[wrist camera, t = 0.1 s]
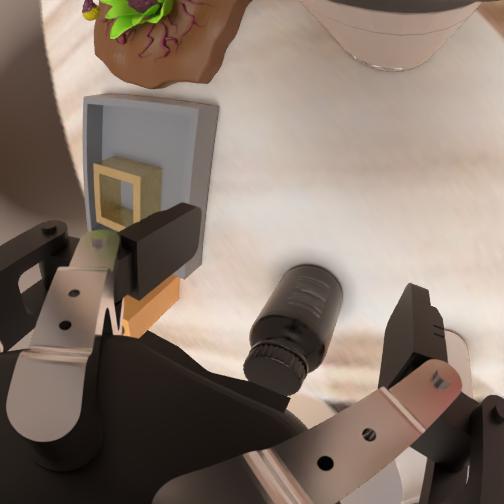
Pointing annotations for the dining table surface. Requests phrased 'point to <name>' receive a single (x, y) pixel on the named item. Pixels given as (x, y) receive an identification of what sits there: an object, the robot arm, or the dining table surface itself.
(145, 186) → the inlet
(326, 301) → the supplement bottle
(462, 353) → the milk bottle
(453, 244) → the dining table surface
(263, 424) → the robot arm
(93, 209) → the walled box
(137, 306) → the block
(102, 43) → the plant
